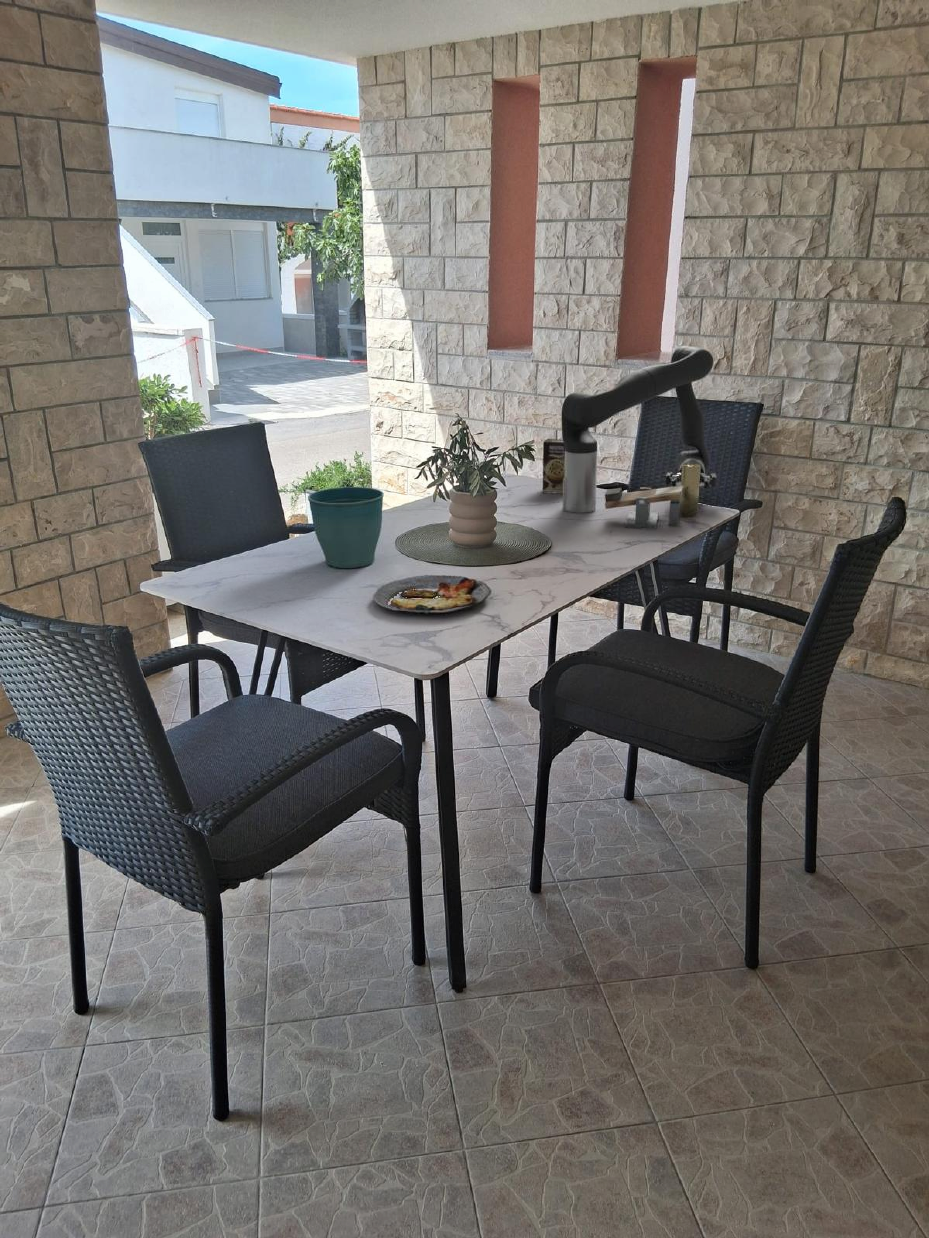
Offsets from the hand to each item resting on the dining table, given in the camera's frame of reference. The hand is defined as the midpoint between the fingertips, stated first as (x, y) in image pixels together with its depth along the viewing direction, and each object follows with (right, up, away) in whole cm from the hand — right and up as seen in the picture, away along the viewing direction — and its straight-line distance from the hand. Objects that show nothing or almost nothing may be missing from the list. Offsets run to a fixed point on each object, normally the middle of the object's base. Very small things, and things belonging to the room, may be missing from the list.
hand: (690, 484), depth 265 cm
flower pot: (-92, -24, -35) cm, 101 cm away
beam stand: (-12, -11, -7) cm, 18 cm away
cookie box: (-34, +2, +31) cm, 46 cm away
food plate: (-71, -35, -62) cm, 101 cm away
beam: (-15, -5, -9) cm, 18 cm away
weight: (-1, -9, 0) cm, 9 cm away
